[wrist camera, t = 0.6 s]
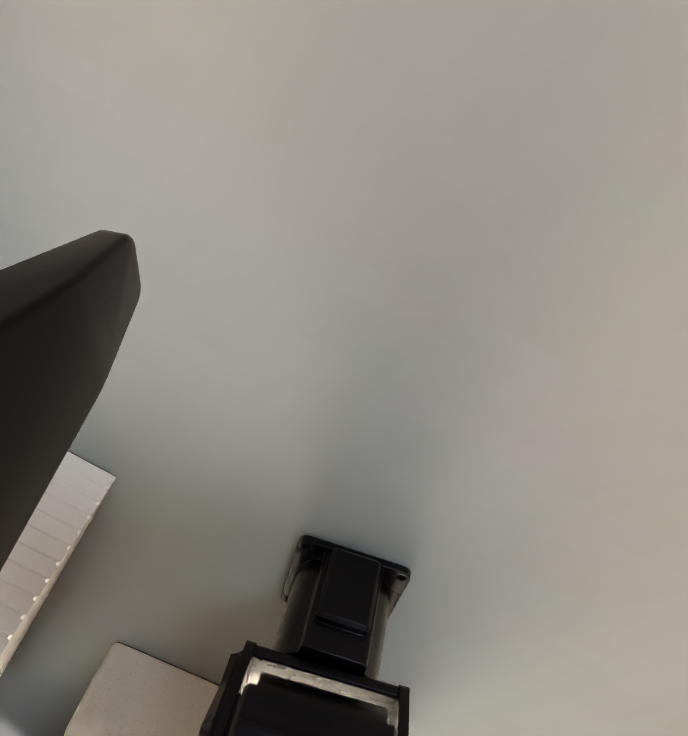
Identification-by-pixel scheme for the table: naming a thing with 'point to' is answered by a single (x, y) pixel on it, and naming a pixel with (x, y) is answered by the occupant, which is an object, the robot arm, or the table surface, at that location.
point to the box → (141, 698)
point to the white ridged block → (47, 546)
